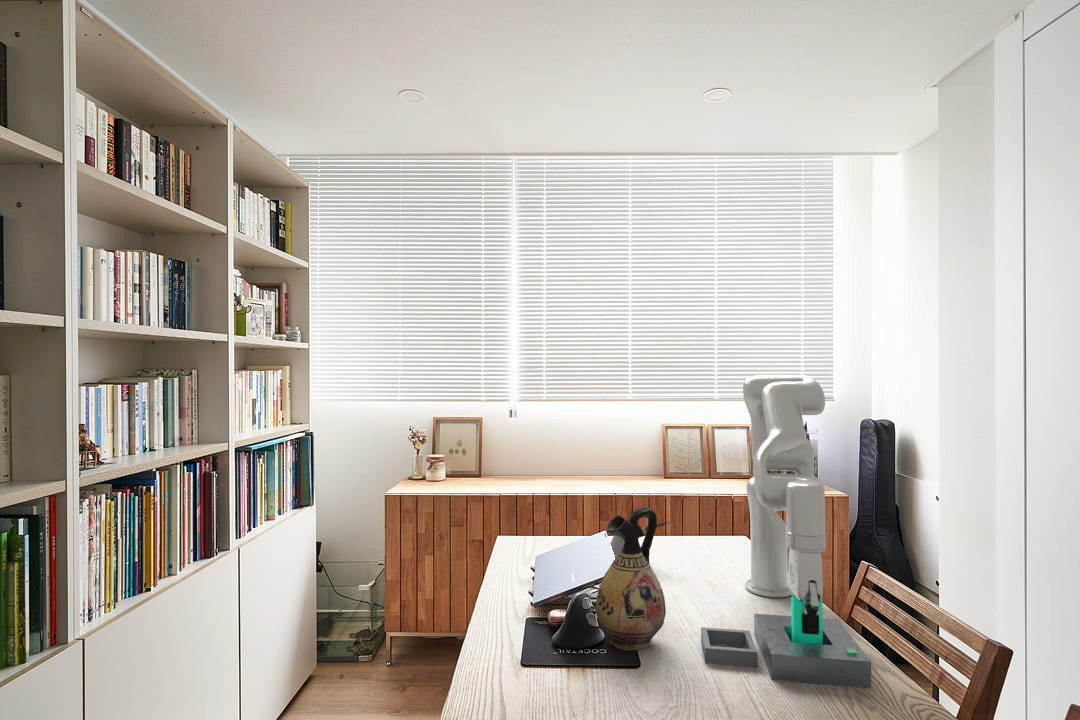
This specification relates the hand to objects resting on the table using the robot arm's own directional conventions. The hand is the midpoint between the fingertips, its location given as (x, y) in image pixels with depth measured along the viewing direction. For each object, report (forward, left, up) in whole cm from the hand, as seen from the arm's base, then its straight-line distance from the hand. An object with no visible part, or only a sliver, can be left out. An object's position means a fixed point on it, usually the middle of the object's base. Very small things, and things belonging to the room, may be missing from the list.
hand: (806, 626), depth 125 cm
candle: (0, 0, -5) cm, 5 cm away
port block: (0, 0, -7) cm, 7 cm away
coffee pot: (-57, -36, -7) cm, 68 cm away
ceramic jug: (-2, -36, -7) cm, 37 cm away
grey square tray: (0, -16, -7) cm, 17 cm away
